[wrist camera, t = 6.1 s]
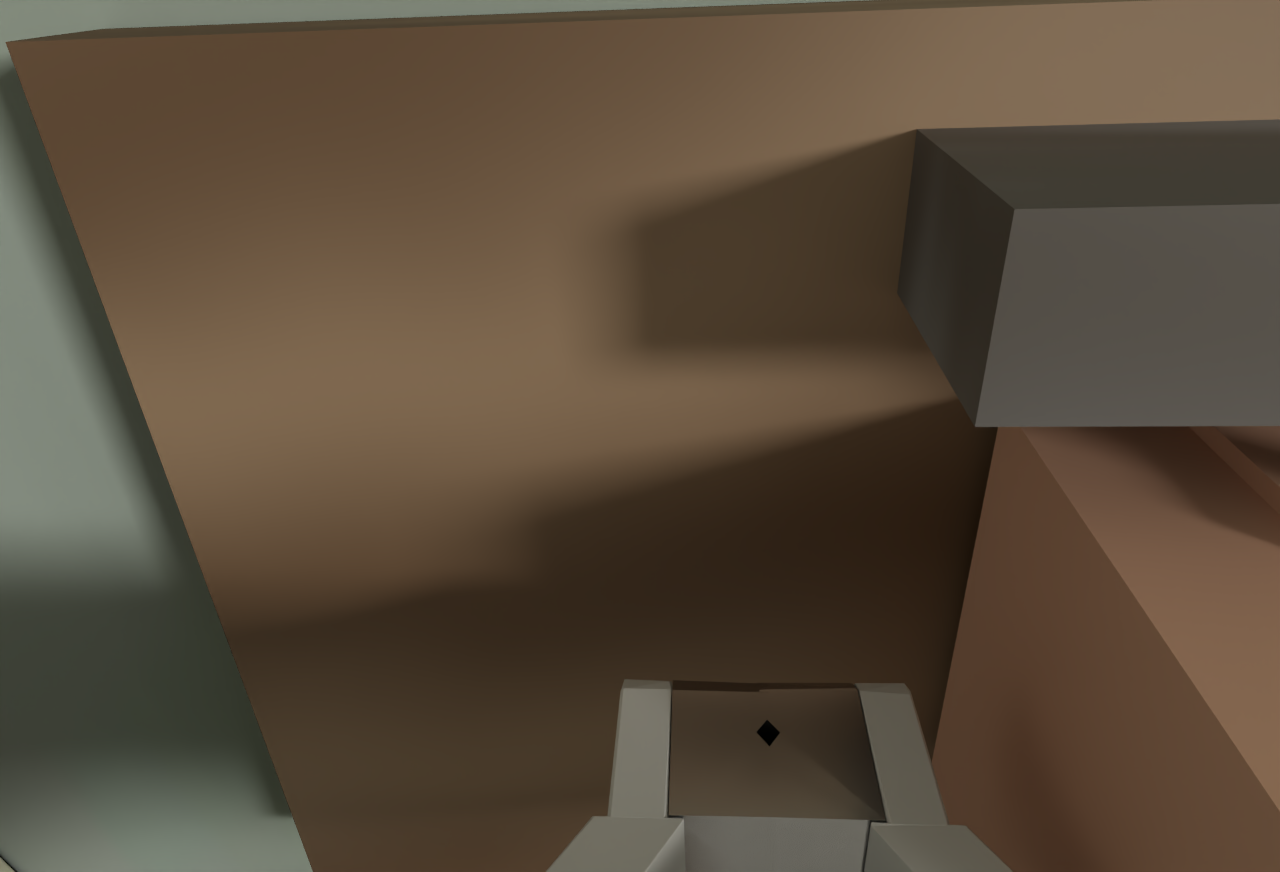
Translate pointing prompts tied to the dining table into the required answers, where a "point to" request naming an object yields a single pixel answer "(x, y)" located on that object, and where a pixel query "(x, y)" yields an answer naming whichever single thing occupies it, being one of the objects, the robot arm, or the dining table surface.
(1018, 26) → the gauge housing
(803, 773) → the robot arm
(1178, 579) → the block
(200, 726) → the dining table surface
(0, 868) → the skincare box
